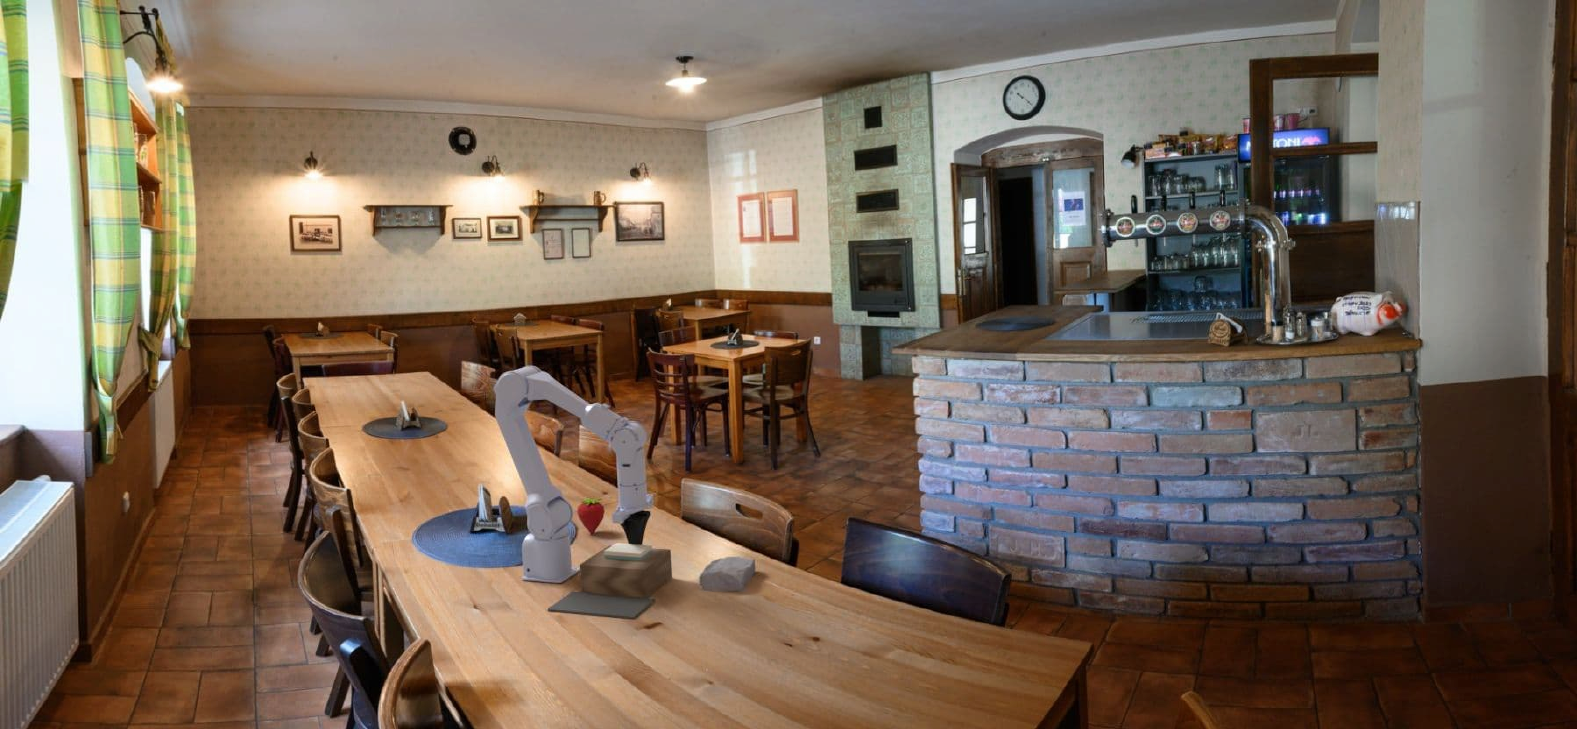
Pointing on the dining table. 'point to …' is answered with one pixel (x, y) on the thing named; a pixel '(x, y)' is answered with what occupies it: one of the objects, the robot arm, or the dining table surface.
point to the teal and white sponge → (628, 551)
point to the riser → (626, 574)
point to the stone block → (727, 574)
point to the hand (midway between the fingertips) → (635, 547)
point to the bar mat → (602, 605)
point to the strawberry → (591, 513)
